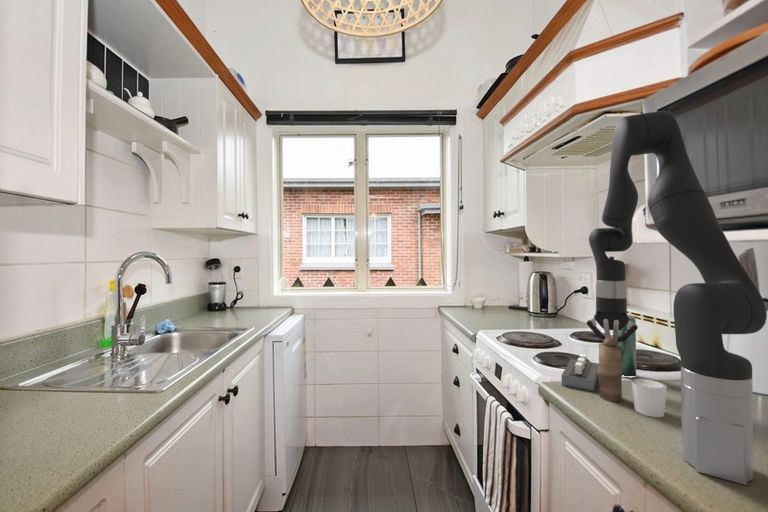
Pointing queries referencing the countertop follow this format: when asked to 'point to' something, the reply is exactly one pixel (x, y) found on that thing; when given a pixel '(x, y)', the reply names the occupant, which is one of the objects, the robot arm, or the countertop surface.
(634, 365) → the green tin
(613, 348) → the pepper mill
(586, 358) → the far paddle
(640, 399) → the white cup
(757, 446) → the countertop surface
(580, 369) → the near paddle
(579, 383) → the switch box
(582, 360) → the middle paddle
